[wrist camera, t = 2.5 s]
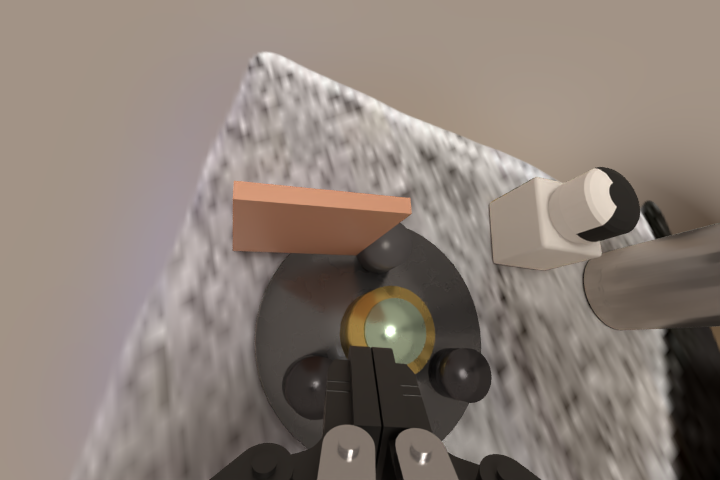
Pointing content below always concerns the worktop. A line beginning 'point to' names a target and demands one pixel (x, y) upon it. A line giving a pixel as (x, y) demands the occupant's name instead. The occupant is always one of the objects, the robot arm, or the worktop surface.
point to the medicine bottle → (561, 219)
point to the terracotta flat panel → (321, 223)
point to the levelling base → (323, 305)
